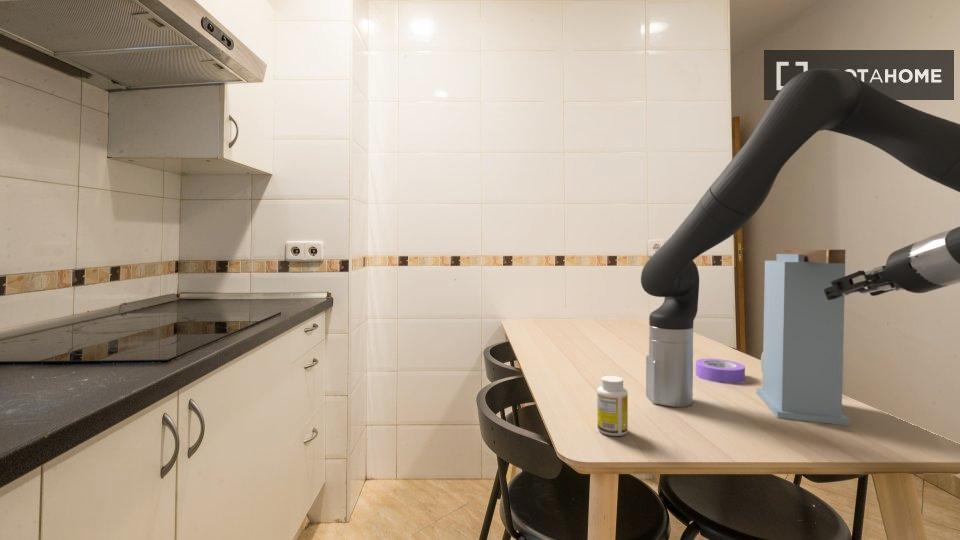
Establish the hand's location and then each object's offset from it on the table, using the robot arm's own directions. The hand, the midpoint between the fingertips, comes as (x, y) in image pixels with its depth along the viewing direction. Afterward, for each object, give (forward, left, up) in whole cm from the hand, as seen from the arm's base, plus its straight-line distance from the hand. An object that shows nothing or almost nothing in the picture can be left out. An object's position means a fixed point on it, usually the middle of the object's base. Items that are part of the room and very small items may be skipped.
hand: (848, 292), depth 79 cm
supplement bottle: (-44, -3, -27) cm, 51 cm away
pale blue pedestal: (-1, +12, -26) cm, 29 cm away
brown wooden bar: (-2, +7, +6) cm, 9 cm away
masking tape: (-7, +35, -27) cm, 45 cm away
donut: (+4, +29, -27) cm, 40 cm away
